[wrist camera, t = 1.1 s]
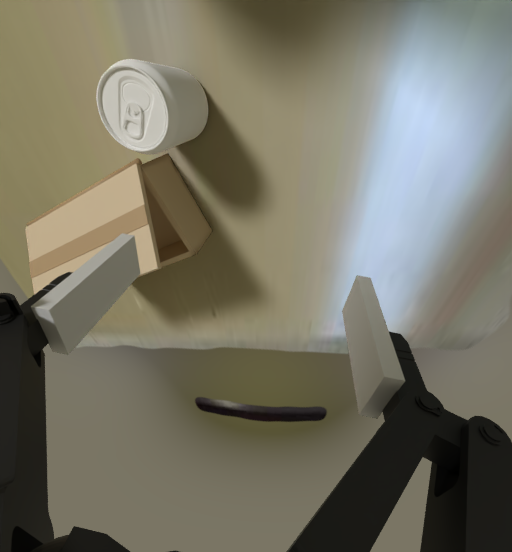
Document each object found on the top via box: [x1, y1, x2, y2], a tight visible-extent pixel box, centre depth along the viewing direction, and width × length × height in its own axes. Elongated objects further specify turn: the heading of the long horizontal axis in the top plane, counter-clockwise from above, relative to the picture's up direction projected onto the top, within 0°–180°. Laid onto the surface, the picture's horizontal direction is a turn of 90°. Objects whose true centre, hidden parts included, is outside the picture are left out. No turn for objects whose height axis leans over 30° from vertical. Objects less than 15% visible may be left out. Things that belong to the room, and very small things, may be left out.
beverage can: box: [97, 59, 208, 154], centre depth 31 cm, size 8×8×12 cm
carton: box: [140, 154, 212, 268], centre depth 43 cm, size 13×22×8 cm, turn 115°
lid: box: [25, 158, 161, 295], centre depth 36 cm, size 14×22×1 cm
